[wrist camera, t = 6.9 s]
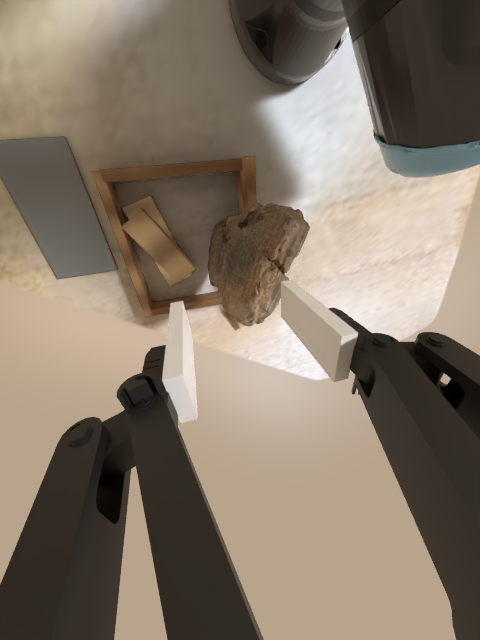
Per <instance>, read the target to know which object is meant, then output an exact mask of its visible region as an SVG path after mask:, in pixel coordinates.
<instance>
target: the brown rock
mask: <svg viewBox="0 0 480 640" xmlns="http://www.w3.org/2000/svg"><path fill="white" fill-rule="evenodd" d="M309 229H310V227H309V225H308V223H307V222H306V221H305V220H304V218H303V214H302V212H301V211H300V210H299V209H297V210H294V209H292V208H291V207H285V206H279V205H276V204H273V203H271V204H269V205H266V206H264V205H262V204H259V203H258V204H253V205H252V206H251V207H250V208H249V209H248V210H247V211H246V212H244V213H243V214H241V215H234V216H233V215H232V216H228V217H227V218H225V219H224V220H222V221H220V222H219V223H218V224H217V225H216V226H215V227H214V229H213V233H212V237H211V241H210V247H209V261H208V272H209V280H210V283H211V285H212V286H215V287H218V290H219V293H220V295H221V297H222V304H223V306H224V308H225V311H226V315H227V316H228V317H229V318H230V319H231V320H234V321H236V322H239V323H241V324H242V325H244V326H252V325H254V324H255V323H257V324H259V323H263V321H264V319H265V318H266V317H268V316H269V315H270V314H271V313H272V312H273V311H274V309H275V308H276V307H277V305H278V302H279V300H280V298H281V282H282V281H287V280H289V278H288V277H286V276H285V274H284V273H287V272H288V270H289V269H290V265H291V263H292V262H293V260H294V258H295V257H297V256H298V255H299V252H300V250H301V248H302V245H303V243H304V241H305V239H306V236H307V234H308V231H309Z"/></svg>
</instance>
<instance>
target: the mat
mask: <svg viewBox="0 0 480 640" xmlns="http://www.w3.org/2000/svg"><path fill="white" fill-rule="evenodd" d="M0 177H1V179H2V181H3V182H4V184H5V186H6V188H7V189H8V191H9V193H10V195H11V197H12V198H13V200H14V202H15V204H16V205H17V207H18V209H19V211H20V213H21V214H22V216H23V218H24V220H25V222H26V223H27V225H28V227H29V229H30V230H31V232H32V234H33V236H34V238H35V239H36V241H37V243H38V245H39V246H40V248H41V250H42V252H43V254H44V255H45V257H46V259H47V261H48V262H49V264H50V266H51V268H52V270H53V271H54V273H55V275H56V277H57V279H59V278H66V277H73V276H80V275H87V274H94V273H101V272H108V271H115V270H118V268H117V266H116V263H115V261H114V258H113V256H112V253H111V251H110V248H109V245H108V243H107V240H106V238H105V235H104V233H103V230H102V228H101V225H100V223H99V220H98V218H97V215H96V213H95V210H94V208H93V205H92V202H91V200H90V197H89V195H88V192H87V190H86V187H85V185H84V182H83V180H82V177H81V175H80V172H79V170H78V167H77V165H76V162H75V159H74V157H73V154H72V152H71V149H70V147H69V144H68V142H67V139H66V137H47V138H30V139H13V140H0Z"/></svg>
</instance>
